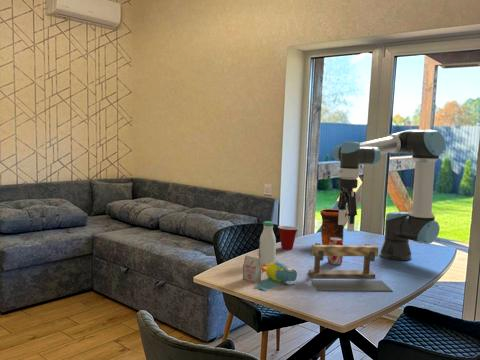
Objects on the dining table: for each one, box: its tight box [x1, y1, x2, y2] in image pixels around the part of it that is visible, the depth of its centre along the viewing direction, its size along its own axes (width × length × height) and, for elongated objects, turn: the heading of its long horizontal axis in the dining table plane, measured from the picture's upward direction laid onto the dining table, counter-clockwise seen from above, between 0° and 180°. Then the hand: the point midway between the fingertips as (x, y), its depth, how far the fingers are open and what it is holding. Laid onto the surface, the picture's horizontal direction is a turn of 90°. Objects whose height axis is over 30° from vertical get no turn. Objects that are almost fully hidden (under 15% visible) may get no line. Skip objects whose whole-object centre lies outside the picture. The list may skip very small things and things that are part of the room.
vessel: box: [319, 208, 348, 245], centre depth 246 cm, size 14×14×20 cm
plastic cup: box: [277, 225, 299, 251], centre depth 238 cm, size 11×11×12 cm
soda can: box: [327, 237, 344, 265], centre depth 214 cm, size 7×7×12 cm
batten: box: [311, 244, 379, 258], centre depth 191 cm, size 28×3×4 cm, turn 93°
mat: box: [311, 279, 393, 293], centre depth 182 cm, size 30×12×1 cm, turn 93°
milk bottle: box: [258, 220, 277, 266], centre depth 209 cm, size 8×8×20 cm
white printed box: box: [242, 254, 262, 284], centre depth 186 cm, size 4×7×10 cm, turn 51°
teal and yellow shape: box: [253, 260, 298, 292], centre depth 185 cm, size 28×9×15 cm
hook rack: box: [308, 242, 376, 279], centre depth 193 cm, size 28×10×14 cm, turn 93°
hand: (345, 227), depth 190 cm, fingers open, 13 cm apart
